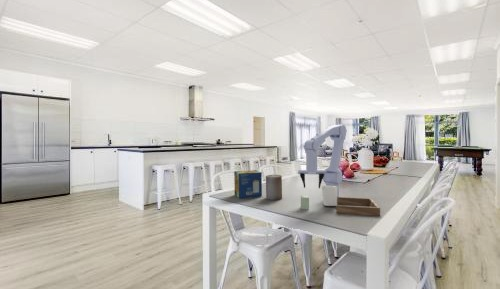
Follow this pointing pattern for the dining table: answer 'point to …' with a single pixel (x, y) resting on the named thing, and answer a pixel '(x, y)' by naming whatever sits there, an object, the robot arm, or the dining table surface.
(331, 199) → the white cup
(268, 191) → the pillar candle
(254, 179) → the protein box
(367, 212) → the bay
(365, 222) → the dining table surface
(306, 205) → the block
